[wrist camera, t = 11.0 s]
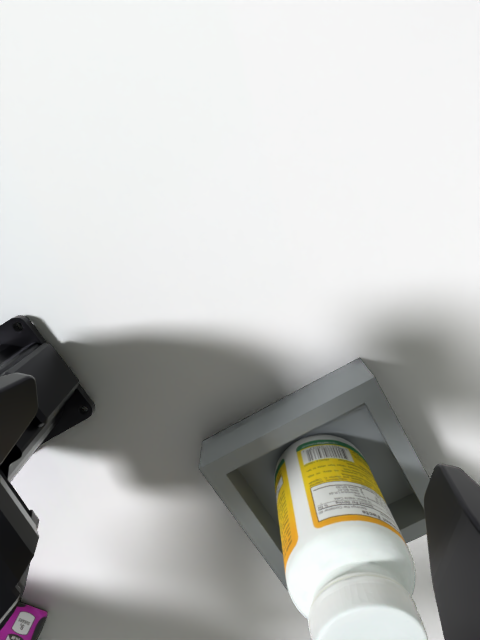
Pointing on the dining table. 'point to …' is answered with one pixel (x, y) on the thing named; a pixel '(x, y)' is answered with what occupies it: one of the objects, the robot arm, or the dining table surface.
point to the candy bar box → (24, 623)
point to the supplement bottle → (343, 545)
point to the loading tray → (303, 421)
